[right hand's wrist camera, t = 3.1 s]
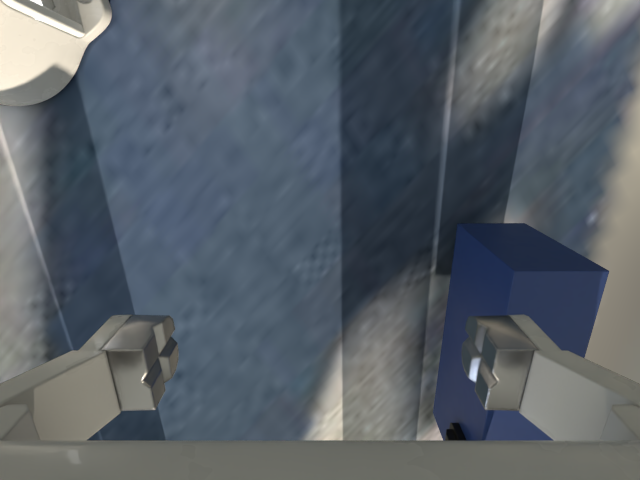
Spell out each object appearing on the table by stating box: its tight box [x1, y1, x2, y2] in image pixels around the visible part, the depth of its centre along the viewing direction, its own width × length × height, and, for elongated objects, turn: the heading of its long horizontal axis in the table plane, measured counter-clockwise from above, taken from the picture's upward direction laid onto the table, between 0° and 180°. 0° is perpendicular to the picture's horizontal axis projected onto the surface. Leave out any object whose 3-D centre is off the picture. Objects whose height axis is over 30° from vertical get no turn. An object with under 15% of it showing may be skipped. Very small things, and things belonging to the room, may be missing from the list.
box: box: [433, 223, 609, 441], centre depth 32 cm, size 22×6×10 cm, turn 0°
